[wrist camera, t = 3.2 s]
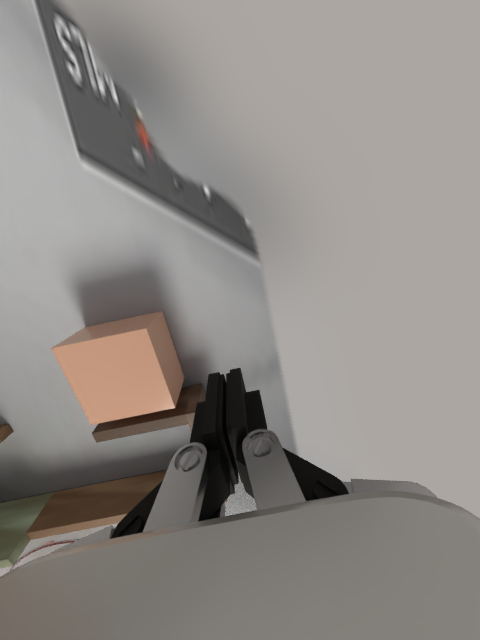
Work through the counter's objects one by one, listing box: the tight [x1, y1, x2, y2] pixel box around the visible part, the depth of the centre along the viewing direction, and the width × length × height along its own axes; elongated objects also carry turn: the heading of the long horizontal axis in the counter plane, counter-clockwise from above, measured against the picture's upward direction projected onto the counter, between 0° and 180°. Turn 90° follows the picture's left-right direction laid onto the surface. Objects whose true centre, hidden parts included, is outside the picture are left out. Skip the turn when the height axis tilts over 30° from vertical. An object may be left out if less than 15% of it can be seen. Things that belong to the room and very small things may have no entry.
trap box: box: [0, 384, 227, 568], centre depth 21 cm, size 21×29×6 cm
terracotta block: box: [51, 311, 185, 425], centre depth 20 cm, size 7×7×4 cm
